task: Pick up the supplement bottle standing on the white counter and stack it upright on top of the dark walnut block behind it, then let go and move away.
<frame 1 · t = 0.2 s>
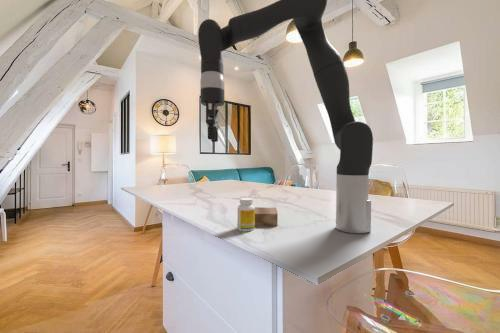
hand: (213, 140, 75), 28 cm above the worktop, tool pointing down, fingers open, 8 cm apart
walnut block: (262, 221, 82), on the worktop
supplement bottle: (246, 229, 73), on the worktop
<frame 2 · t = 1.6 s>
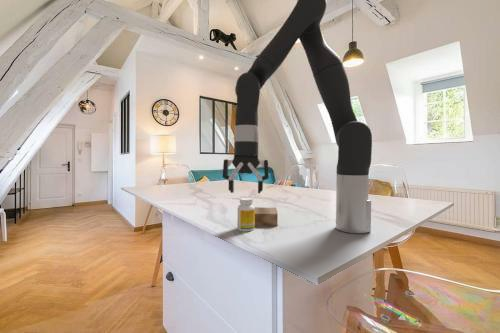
hand: (245, 192, 73), 11 cm above the worktop, tool pointing down, fingers open, 8 cm apart
nothing on the worktop moved.
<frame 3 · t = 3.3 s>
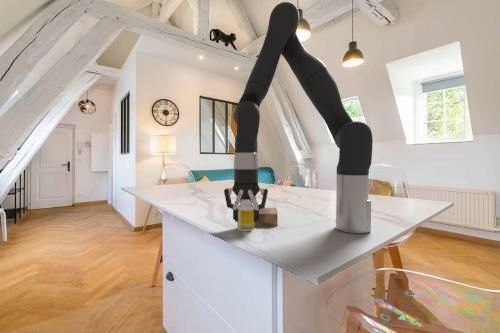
hand: (246, 221, 73), 3 cm above the worktop, tool pointing down, fingers closed on supplement bottle, 5 cm apart
supplement bottle: (246, 229, 73), on the worktop, touching gripper
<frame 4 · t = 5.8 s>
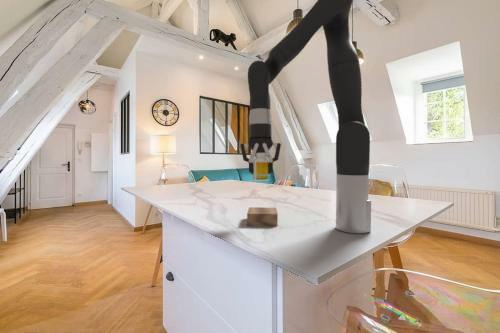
hand: (260, 173, 79), 17 cm above the worktop, tool pointing down, fingers closed on supplement bottle, 5 cm apart
supplement bottle: (260, 181, 80), point 14 cm above the worktop, touching gripper
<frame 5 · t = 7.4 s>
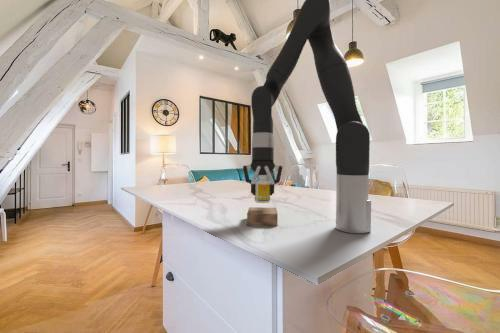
hand: (262, 194, 82), 10 cm above the worktop, tool pointing down, fingers closed on supplement bottle, 5 cm apart
supplement bottle: (262, 202, 82), point 7 cm above the worktop, touching gripper
when the fingers open (8 cm above the worktop, at t = 8.6 s): supplement bottle drops 1 cm, resting on walnut block.
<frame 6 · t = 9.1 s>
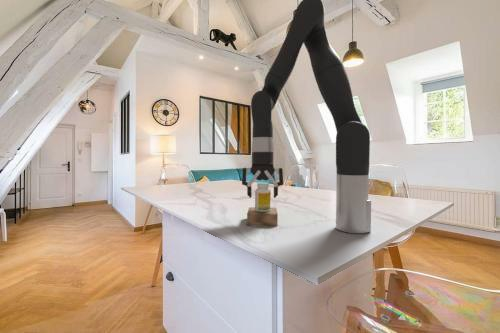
hand: (262, 197, 82), 9 cm above the worktop, tool pointing down, fingers open, 8 cm apart
supplement bottle: (262, 211, 82), point 4 cm above the worktop, touching walnut block
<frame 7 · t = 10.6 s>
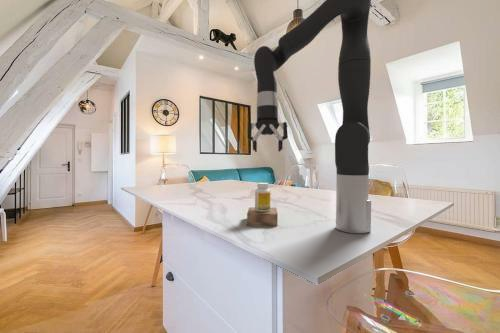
hand: (267, 151, 84), 25 cm above the worktop, tool pointing down, fingers open, 8 cm apart
nothing on the worktop moved.
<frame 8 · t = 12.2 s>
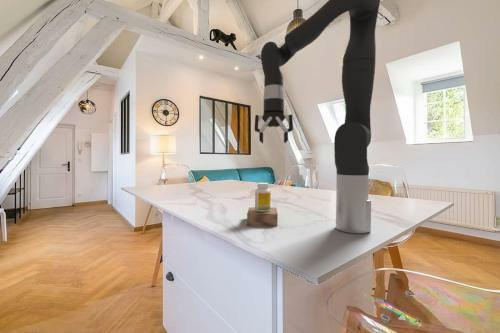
hand: (273, 143, 88), 28 cm above the worktop, tool pointing down, fingers open, 8 cm apart
nothing on the worktop moved.
at the end: supplement bottle inside the target area on the walnut block (0.1 cm from its centre), point 3.8 cm above the walnut block's base; supplement bottle tilted 0°; the gripper is holding nothing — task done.
